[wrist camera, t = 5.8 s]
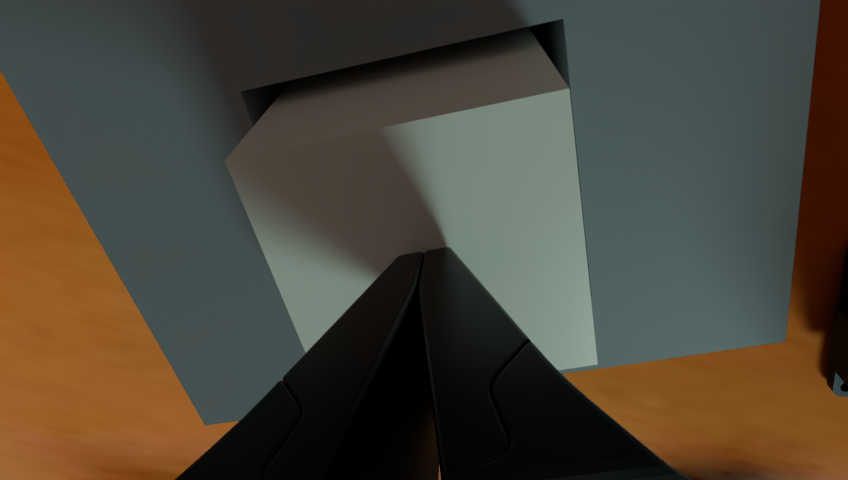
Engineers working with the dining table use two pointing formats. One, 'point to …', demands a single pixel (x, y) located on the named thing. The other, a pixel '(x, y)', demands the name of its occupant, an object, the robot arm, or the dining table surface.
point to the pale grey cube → (426, 185)
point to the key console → (398, 35)
